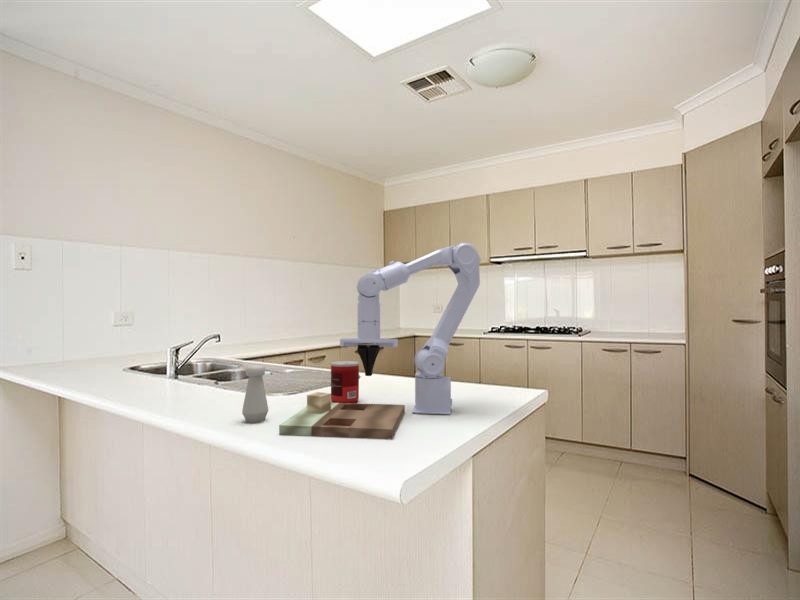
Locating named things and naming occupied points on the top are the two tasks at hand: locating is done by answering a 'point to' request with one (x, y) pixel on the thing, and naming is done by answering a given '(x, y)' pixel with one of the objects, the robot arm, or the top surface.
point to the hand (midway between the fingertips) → (368, 375)
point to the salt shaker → (255, 395)
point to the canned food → (345, 382)
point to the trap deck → (347, 421)
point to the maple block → (318, 402)
